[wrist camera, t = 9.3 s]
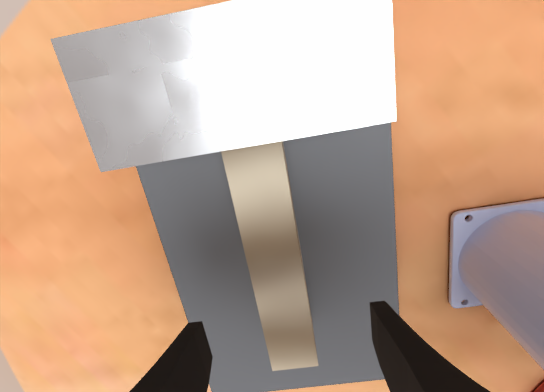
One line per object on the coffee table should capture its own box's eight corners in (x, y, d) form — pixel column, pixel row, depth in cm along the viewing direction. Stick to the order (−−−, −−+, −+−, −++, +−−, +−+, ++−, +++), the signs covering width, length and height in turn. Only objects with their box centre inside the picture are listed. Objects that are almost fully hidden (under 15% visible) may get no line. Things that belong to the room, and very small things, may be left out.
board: (378, -12, 17) (384, -17, 16) (397, 366, 26) (401, 377, 25) (104, 45, 18) (94, 43, 17) (215, 386, 27) (213, 397, 26)
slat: (220, 80, 18) (203, 78, 14) (271, 70, 17) (269, 66, 14) (273, 325, 24) (272, 371, 20) (312, 320, 23) (318, 365, 20)
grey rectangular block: (347, 12, 16) (390, -34, 10) (355, 108, 18) (396, 121, 12) (134, 56, 17) (50, 39, 11) (160, 143, 19) (100, 172, 13)
